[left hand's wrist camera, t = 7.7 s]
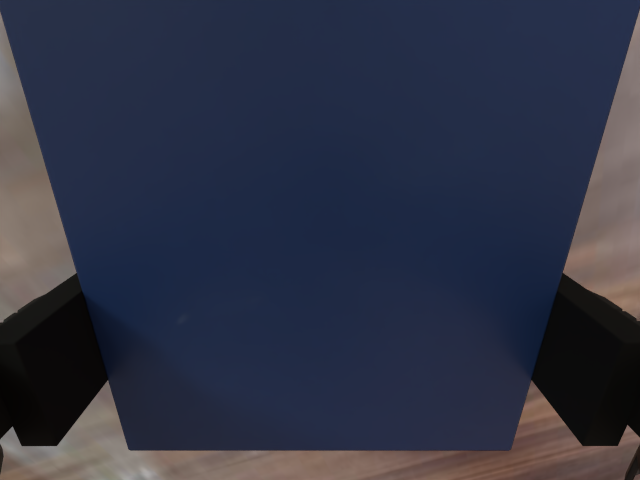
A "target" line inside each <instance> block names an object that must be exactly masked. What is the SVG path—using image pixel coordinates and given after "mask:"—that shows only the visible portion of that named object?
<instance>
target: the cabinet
mask: <svg viewBox="0 0 640 480" xmlns="http://www.w3.org/2000/svg"><path fill="white" fill-rule="evenodd" d="M639 10H640V0H0V12H1V15H2V18H3V22H4V25H5V29H6V32H7V36H8V39H9V42H10V46H11V49H12V53H13V56H14V60H15V63H16V66H17V70H18V73H19V77H20V80H21V83H22V87H23V90H24V94H25V97H26V101H27V104H28V107H29V111H30V114H31V118H32V121H33V125H34V128H35V131H36V135H37V138H38V142H39V145H40V148H41V152H42V155H43V159H44V162H45V166H46V169H47V172H48V176H49V179H50V183H51V186H52V190H53V193H54V196H55V200H56V203H57V207H58V210H59V213H60V217H61V220H62V224H63V227H64V231H65V234H66V237H67V241H68V244H69V248H70V251H71V255H72V258H73V261H74V265H75V268H76V272H77V275H78V278H79V282H80V285H81V289H82V292H83V296H84V299H85V302H86V306H87V309H88V313H89V316H90V319H91V323H92V326H93V330H94V333H95V337H96V340H97V343H98V347H99V350H100V354H101V357H102V361H103V364H104V367H105V371H106V374H107V378H108V381H109V384H110V388H111V391H112V395H113V398H114V402H115V405H116V408H117V412H118V415H119V419H120V422H121V426H122V429H123V432H124V436H125V439H126V443H127V446H128V449H129V450H484V451H509V450H511V447H512V444H513V441H514V437H515V434H516V430H517V427H518V424H519V420H520V417H521V413H522V410H523V406H524V403H525V400H526V396H527V393H528V389H529V386H530V383H531V379H532V376H533V372H534V369H535V365H536V362H537V359H538V355H539V352H540V348H541V345H542V341H543V338H544V335H545V331H546V328H547V324H548V321H549V318H550V314H551V311H552V307H553V304H554V300H555V297H556V294H557V290H558V287H559V283H560V280H561V276H562V273H563V270H564V266H565V263H566V259H567V256H568V253H569V249H570V246H571V242H572V239H573V235H574V232H575V229H576V225H577V222H578V218H579V215H580V211H581V208H582V205H583V201H584V198H585V194H586V191H587V188H588V184H589V181H590V177H591V174H592V170H593V167H594V164H595V160H596V157H597V153H598V150H599V147H600V143H601V140H602V136H603V133H604V129H605V126H606V123H607V119H608V116H609V112H610V109H611V105H612V102H613V99H614V95H615V92H616V88H617V85H618V82H619V78H620V75H621V71H622V68H623V64H624V61H625V58H626V54H627V51H628V47H629V44H630V40H631V37H632V34H633V30H634V27H635V23H636V20H637V17H638V13H639Z"/></svg>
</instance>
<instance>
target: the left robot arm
mask: <svg viewBox="0 0 640 480" xmlns="http://www.w3.org/2000/svg"><path fill="white" fill-rule="evenodd" d="M107 380H108V378H107V374H106V371H105V367H104V364H103V361H102V357H101V354H100V350H99V347H98V343H97V340H96V337H95V333H94V330H93V326H92V323H91V319H90V316H89V313H88V309H87V306H86V302H85V299H84V296H83V292H82V289H81V285H80V282H79V278H78V275H77V273H76V274H75V275H73V276H72V277H70V278H69V279H67V280H66V281H64V282H63V283H61V284H60V285H59V286H57V287H56V288H54V289H53V290H51V291H50V292H48V293H47V294H45V295H43V296H41V297H38V298H36V299H34V300H33V301H31V302H30V303H28V304H27V305H25V306H24V307H22V308H21V309H19V310H18V313H13V314H12V315H10V316H9V317H7V318H6V319H5V320H4V322H3V323H0V439H1V438H2V437H3V436H4V435H5V434H6V432H7V431H8V430H9V429H10V428H11V427H12V426H13V428H14V430H15V432H16V434H17V437H18V439H19V441H20V443H21V445H22V446H57V445H58V444H59V442H60V441H61V440H62V439H63V437H64V436H65V435H66V433H67V432H68V431H69V430H70V428H71V427H72V426H73V424H74V423H75V422H76V421H77V419H78V418H79V417H80V415H81V414H82V413H83V411H84V410H85V409H86V408H87V406H88V405H89V404H90V402H91V401H92V400H93V399H94V397H95V396H96V395H97V393H98V392H99V391H100V389H101V388H102V387H103V386H104V384H105V383H106V382H107ZM531 380H532V381H533V382H534V384H535V385H536V386H537V387H538V389H539V390H540V391H541V393H542V394H543V395H544V396H545V398H546V399H547V400H548V402H549V403H550V404H551V406H552V407H553V408H554V409H555V411H556V412H557V413H558V415H559V416H560V417H561V418H562V420H563V421H564V422H565V424H566V425H567V426H568V427H569V429H570V430H571V431H572V433H573V434H574V435H575V437H576V438H577V439H578V440H579V442H580V443H581V444H582V446H618V444H619V442H620V440H621V437H622V435H623V433H624V431H625V429H626V427H627V425H628V426H629V427H630V428H631V429H632V430H633V431H634V432H635V433H636V434H637V435H638V436H639V437H640V321H637V320H636V318H635V317H633V316H632V315H630V314H629V313H627V312H626V311H622V309H621V308H620V307H618V306H617V305H615V304H614V303H612V302H611V301H609V300H608V299H606V298H605V297H602V296H600V295H598V294H596V293H593V292H591V291H589V290H587V289H585V288H584V287H582V286H581V285H580V284H578V283H577V282H575V281H574V280H572V279H571V278H569V277H568V276H566V275H565V274H564V273H562V276H561V280H560V283H559V287H558V290H557V294H556V297H555V300H554V304H553V307H552V311H551V314H550V318H549V321H548V324H547V328H546V331H545V335H544V338H543V341H542V345H541V348H540V352H539V355H538V359H537V362H536V365H535V369H534V372H533V376H532V379H531ZM3 457H4V456H3V450H2V447H1V445H0V473H1V467H2V462H3ZM638 474H640V445H639V447H638V449H637V451H636V453H635V455H634V457H633V459H632V461H631V463H630V465H629V467H628V469H627V471H626V475H625V480H633V479H634V477H635V475H638Z"/></svg>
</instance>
